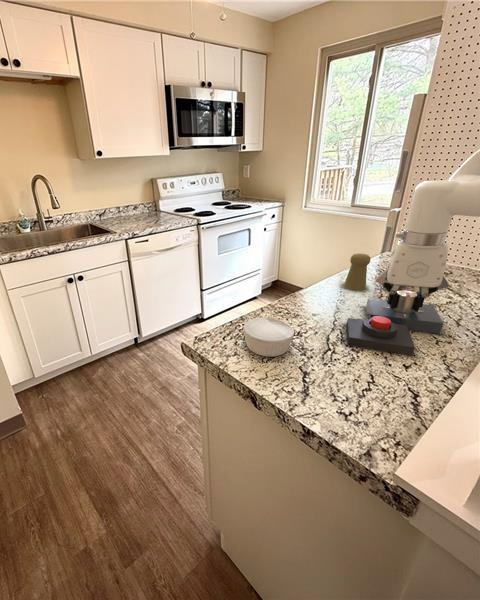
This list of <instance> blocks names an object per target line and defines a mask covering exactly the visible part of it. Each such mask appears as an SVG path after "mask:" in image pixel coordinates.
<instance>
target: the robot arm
mask: <svg viewBox="0 0 480 600" xmlns="http://www.w3.org/2000/svg"><path fill="white" fill-rule="evenodd" d="M454 216H464V217H475V218H476V217H477V218H480V148H479V149H478V150H477V151H476V152H474V153H473V154H472V155H471V156H470V157H469V158H467V160H465V162H463V164H462V165H460V167H459V168H458V169H456V171H455V172H454V173H453V174H452V175H451V176H450V177H449V179H447V180H446V179H445V180H444V179H442V180H441V179H440V180H439V179H437V180H426V181H422V182H421V183H418V185H417V186H416V187H415V189H414V192H413V196H412V199H411V204H410V207H409V212H408V215H407V219H406V223H405V227H404V228H403V230H402V231H397V232H395V235H394V238H395V239H400V240H399V241H397V243H396V245H395V247H394V248H393V251H392V254H391V255H390V259H389V261H388V265H387V268H386V269H384V270H383V271H382V272H381V273H379V275H377V276H376V277H375V281H376V282H377V283H378V284H380V285H381V286H382V287H383V286H384V287H385V288H384V287H383V288H384V289H385V290H387V291H388V296H387V299H386V300H387V304H389V305H390V308H391V309H393V308H395V304H396V301H397V297H398V295H397V292H398V291H399V289H400V288H399V287H400V285H403V286H405V287H416V288H418V287H419V288H418V289H419V290H418V291H417V292H415V293H416V294H417V298H416V302H415V305H414V308H413V310H414V311H416V312H418V310H419V307H421V308H422V306H423V304H425V299H426V298H428V297H429V295H432V294H434V293H435V292H438V291H440V290H443V289H446V288H449V287H450V284H449V282H448V280H447V279H446V277H445V271H446V267H447V263H448V262H447V261H448V255H449V245H448V244H447V243H445V242H446V239H447V237H448V234H449V230H450V226H451V223H452V221H453V217H454ZM386 277H387V280H388V281H386V280H385V278H386ZM390 283H391V284H390ZM398 288H399V289H398Z"/></svg>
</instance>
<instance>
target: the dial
mask: <svg viewBox="0 0 480 600" xmlns="http://www.w3.org/2000/svg"><path fill="white" fill-rule="evenodd" d="M416 293H417V292H414V291H410V290H397V295H398V297H397V301H396V304H395V308H393V309H394V310H395V311H398V312H402V313H411V312H412V311H413V308H414V305H415V302H416V298H417V294H416Z"/></svg>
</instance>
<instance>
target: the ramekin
mask: <svg viewBox="0 0 480 600" xmlns="http://www.w3.org/2000/svg"><path fill="white" fill-rule="evenodd" d="M242 328H243V329H242V331H243V334H244V341H245V345H246V346H247V347H248V349H249V350H250V351H251V352H253V353H254V354H256V355H258V356H262V357H268V358H274V357H279V356H281V355H284V354H285V353H286V352H287V351H288V350H289V348H290V345H291V342H292V340H293V339H294V336H295V329H294V328H293V327H292V326H291V324H289V323H288V322H286V321H284V320H282V319H279V318H274V317H263V316H262V317H255V318H251V319H249V320H247V321H246V322H245V323H244V324H243V327H242Z"/></svg>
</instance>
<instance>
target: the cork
mask: <svg viewBox="0 0 480 600" xmlns="http://www.w3.org/2000/svg"><path fill="white" fill-rule="evenodd" d="M349 261H350V267H349V269H348V272H347V276H346V278H345V281H344V283H343V287H344V289H346V290H349V291H356V292H357V291H358V292H360V291H364V290H366V289H367V273H368V271H367V270H368V266H369V264H370V263H371V256H370V255H369V254H366V253H353V254H352V255H351V256H350V259H349Z"/></svg>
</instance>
